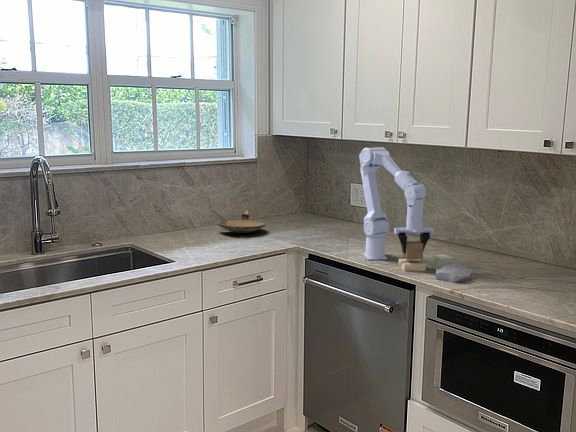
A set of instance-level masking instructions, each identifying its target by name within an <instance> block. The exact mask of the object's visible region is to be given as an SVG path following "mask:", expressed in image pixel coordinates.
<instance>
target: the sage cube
mask: <svg viewBox="0 0 576 432" xmlns="http://www.w3.org/2000/svg"><path fill="white" fill-rule="evenodd" d="M446 264H453V257H451V256H449V255H446V254H437V255H433V256H432V269H433V270H435V271H436V270H437V269H441V268H442V267H443V266H444V265H446Z"/></svg>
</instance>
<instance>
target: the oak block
mask: <svg viewBox="0 0 576 432" xmlns="http://www.w3.org/2000/svg"><path fill="white" fill-rule="evenodd" d="M397 265H398V266H399V267H401V270H402V271H404V272H426V269H427V265H426V263H425V262H424V261H423V260H422V259H417V260H407V259H406V258H398V264H397Z"/></svg>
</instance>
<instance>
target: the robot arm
mask: <svg viewBox="0 0 576 432" xmlns="http://www.w3.org/2000/svg"><path fill="white" fill-rule="evenodd" d="M358 157H359V163H360V164H359V165H360V174H361V181H362V187H363V194H364V199H365V204H366V209H367V214H366V215H365V216H364V217H363V231H364V234H365V236H366V238H365V250H364V251H365V252H363V253H362V254H363V255H364V257H365V258H366V259H367V260H376V261H377V260H382V261H383V260H388V257H387V256H386V253H385V252H386V236H388V233H389V232H390V230H391V224H390V221H389V219H388V215H387V214H386V213H385V212H384V211H382V206H381V200H380V195H379V190H378V189H379V188H378V182H377V177H376V171H377V170H378V169H379V168H380V167H381V166H382V167H384V168H385V169H386V170H387V171H388V172H389V173H390V174H391V175H392V176H394V182H395V183H396V184H397V186H398V187H400V188H401V190H402V191H403V192H404V197H405V198H406V205H407V209H406V226H405V227H394V228H393V229H394V230H393V233H394V234H395V235H397V237H398V240H399V242H400V245H401V251H402V254H403V253H406V241H407V240H408V236H407V235H408V234H411V235H413V234H415V235H417V234H419V241H421V242H422V243H423V252H424V250H425V247H426V246H427V243H428V241H429V240H430V238H431V235H434V230H435V229H434V228H433V227H423V218H424V217H423V214H424V201H425V198H427V196H428V189H427V186H425V184H424V183H420V182H418V181H417V180H415V178H414V177H413V176H412V175H411V173H410V172H409V171H406V170H402V169H401V168H400V166H398V164H397V163H396V162H395V161H394V160H393V159H392V157H391V156H390V151H388V150H387V149H386V148H385V147H383V146H381V147H364V148H363V149H362V150H361V152H360V153H359V155H358Z"/></svg>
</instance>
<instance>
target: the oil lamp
mask: <svg viewBox="0 0 576 432" xmlns="http://www.w3.org/2000/svg"><path fill="white" fill-rule="evenodd" d="M249 216H250V214H249V210H245V211H244V213H241V219H235V220H234V219H227V220H225V221H224V222H223V224H221V223H219V222H217V226H219V227H220V228H222V229H224V230H225V231H228V232H231V233H235V234H250V233H254V232H256V231H258V230H261V229H262V228H264V227H266V223H264V222H261V221H257V220H249Z"/></svg>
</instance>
